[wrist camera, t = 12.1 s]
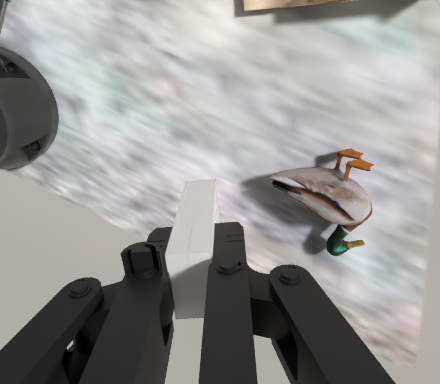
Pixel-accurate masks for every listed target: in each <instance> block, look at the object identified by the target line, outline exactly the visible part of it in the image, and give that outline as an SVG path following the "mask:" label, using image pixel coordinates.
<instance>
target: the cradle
mask: <svg viewBox="0 0 440 384" xmlns="http://www.w3.org/2000/svg"><path fill="white" fill-rule="evenodd" d="M348 1H359V0H243V5H244V11H252V10H263V9H274V8H284V7H295V6H305V5H316V4H327V3H337V2H348Z"/></svg>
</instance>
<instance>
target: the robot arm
mask: <svg viewBox="0 0 440 384" xmlns="http://www.w3.org/2000/svg"><path fill="white" fill-rule="evenodd" d="M11 1H12V0H0V33H1V29H2V25H3V21H4V17H5V13H6V9H7V5H8V2H10V3H11ZM57 129H58V108H57V104H56V100H55V97H54V95H53V93H52V90H51V88H50V86H49V85H48V83H47V81H46V80H45V79H44V77H43V76H42V75H41V73H40V72H39V71H38V70H37V69H36V68H35V67H34V66H33V65H32V64H31V63H29V62H28V61H27V60H26V59H24V58H23V57H21V56H20V55H18V54H16V53H14V52H12V51H10V50H7V49H5V48H2V47H0V169H10V168H16V167H20V166H23V165H26V164H28V163H30V162H32V161H33V160H35V159H36V158H38V157H40V156H41V155H42V154H44V153H45V152H46V151H47V150H48V149H49V147H50V146H51V144H52V143H53V141H54V139H55V136H56V133H57ZM121 257H122V261H123V266H124V270H125V276H124V278H123V280H122V281H120V282H117V283H114V284H111V285H107V286H103V287H102V286H101V282H100V281H99V280H98V279H95V278H92V277H91V278H81V279H77V280H75V281H73V282H71V283H69V284H67V285H66V286H65V287H64V288H62V290H60V291H59V292H58V293H57V295H55V296H54V297H53V299H52V300H50V302H49V303H48V304H46V305H45V306H44V307H43V308H42V309H41V310H40V311H39V312H38V313H37V314H36V316H34V317H33V318H32V320H30V321H29V322H28V323H27V325H25V326H24V327H23V328H22V329H21V330H20V331H19V332H18V333H17V334H16V335H15V336H14V337H13V338H12V339H11V340H10V341H9V342H8V343H7V344H6V345H5V346H4V347H3V348H2V349H1V350H0V384H164V383H165V378H166V372H167V366H168V361H169V355H170V349H171V344H172V338H173V332H174V327H173V320H172V316H173V311H174V312H175V317H176V319H188V318H204V325H203V337H202V349H201V362H200V373H199V384H257V372H256V361H255V349H254V338H253V335H258V336H262V337H267V338H271V341H272V345H273V347H274V349H275V351H276V353H277V356H278V358H279V360H280V362H281V364H282V366H283V368H284V370H285V373H286V375H287V377H288V379H289V381H290V383H291V384H395V382H394V381H393V380H392V379H391V377H390V376H389V375H388V373H386V371H385V370H384V368H383V367H382V366H381V364H380V363H379V362H378V360H377V359H376V358H375V357H374V355H373V354H372V353H371V351H370V350H369V349H368V348H367V346H366V345H365V344H364V342H363V341H362V340H361V339H360V337H359V336H358V335H357V333H356V332H355V331H354V330H353V328H352V327H351V326H350V324H349V323H348V322H347V321H346V319H345V318H344V317H343V315H342V314H341V313H340V312H339V310H338V309H337V308H336V306H335V305H334V304H333V303H332V301H331V300H330V299H329V297H328V296H327V295H326V294H325V292H324V291H323V290H322V288H321V287H320V286H319V285H318V283H317V282H316V281H315V279H314V278H313V277H312V276H311V274H310V273H309V272H308V271H307V270H306V269H304V268H302V267H300V266H297V265H290V264H289V265H281V266H278V267H275V268H274V269H273V270H272V271H271V272H270V274H263V273H259V272H257V271H254V270H253V269H251V268H250V267H249V266H248V265H247V262H246V252H245V241H244V230H243V227H242V226H241V225H240V223H239V222H227V223H220V220H219V210H218V199H217V189H216V179H214V180H200V181H186V183H185V186H184V190H183V193H182V197H181V200H180V204H179V207H178V211H177V214H176V218H175V221H174V225H173V227H164V228H156V229H155V230H154V231H153V232H151V233H150V234H149V236H148V239H147V242H140V243H135V244H133V245H130V246H128V247H127V248H125V249H124V250H123V251H122V252H121ZM72 340H73V345H72V346H71V347H70V348H69V349H68V350H67V349H66V348H67V346H68V345H69V344H70V342H71V341H72Z"/></svg>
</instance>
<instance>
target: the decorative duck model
mask: <svg viewBox="0 0 440 384" xmlns="http://www.w3.org/2000/svg"><path fill="white" fill-rule="evenodd" d="M337 154H338V153H337ZM361 155H363V153H360V152H357V151H354V150H352V149H346V150H343V151H339V154H338V160H337V163H336V166H335V168H334V169H328V168H321V167H312V168H299V169H292V170H286V171H282V172H279V173H276V174H274V175H272V176H271V177H269V178H270V179H272V180H274V181H273V183H272V184H273V185H276V186H274V187H276V188H278V189H280V190H282V191H284V192H286V193H287V194H289V195H290V196H292V197H294V198H295V199H297V200H299V201H301V202H302V203H304V204H306V205H307V206H308V207H309V208H311V209H312V210H313V211H314V212H315V213H316V214H318V215H319V216H321V217H322V218H324V219H325V220H327V221H329V222H332V223H335V224H338V226H337V228H336V229H335V231H334V232H333V233H332V234H331V236H330V237H329V238H328V240H327V251H328V252H329V253H330V254H331V255H333V256H339V255H341V254H343V253H344V252H346V251H347V250H349V249H351V248H353V247H358V246H363V245H364V244H365V243H364V241H363V240H357V241H351V242H348V241H344V240H343V239H344V238H345V236H346V235H347V234H349V233H350V232H351V231H352V230H353V229H355V228H356V227H357V226H359V225H360V224H362V223H363V222H364V221H366V220H367V219H368V218H369V217H370V216H371V213H372V205H371V201H370V199H369V196H368V195H367V193H366V191H365V190H364V189H363V188H362V187H361V186H360V185H359V184H358V183H357V182H356V181H354V180H352V179H351V178H349V177H348V176H349V171H350V169H351V167H354V168H358V169H361V170H366V171H370V167H371V166H373V165H374V164H371V163H368V162H365V161H363V160H361V158H360V156H361ZM343 156H345V157H349V158H354V159H357V160H353V161H349V162H347V164H346V163H345V164H346V166H347V167H346V172H345V174H344V173H342V172H341V171H340V169H339V166H340V162H341V159H342V157H343Z"/></svg>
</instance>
